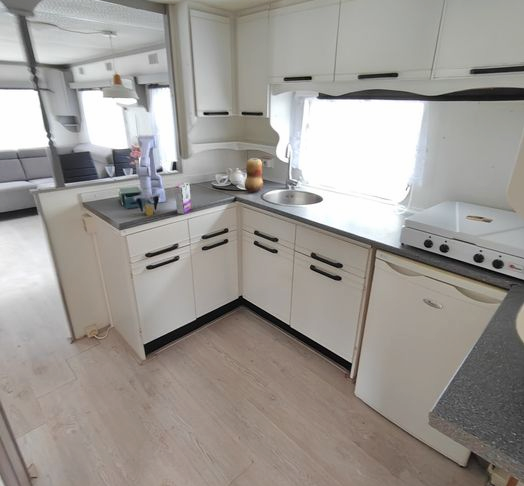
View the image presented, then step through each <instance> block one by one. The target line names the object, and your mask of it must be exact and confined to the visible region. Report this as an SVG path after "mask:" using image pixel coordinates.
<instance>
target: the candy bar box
mask: <svg viewBox="0 0 524 486" xmlns="http://www.w3.org/2000/svg"><path fill="white" fill-rule="evenodd" d="M174 194H175V195H174V197H175V205H176V214H178V215H186V214H187V213H188V212H189V211H191V210H192V209H193V207H192V198H191V187H190V182H181V183H180V184H178V185H175V186H174Z"/></svg>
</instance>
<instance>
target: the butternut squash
mask: <svg viewBox="0 0 524 486" xmlns="http://www.w3.org/2000/svg"><path fill="white" fill-rule="evenodd" d="M245 171H246V172H245V173H246V178H245V181H244V189H245V190H246V192H248V193H253V194H255V193H259V192H260V191H261V190H262V189H263V187H264V181H263V178H262V175H263V162H262V160H261V159H259V158H257V157H255V158H254V157H251V158H249V159H248V160H247V161H246V166H245Z"/></svg>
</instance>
